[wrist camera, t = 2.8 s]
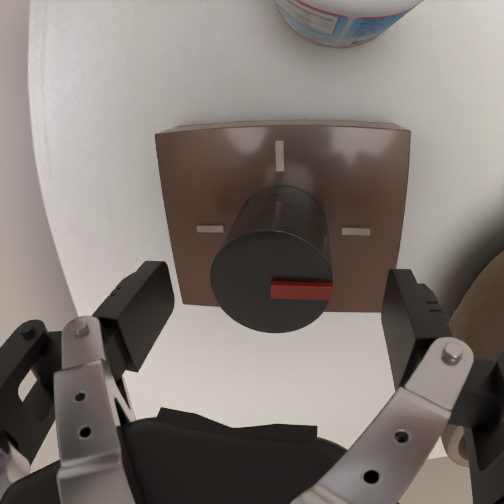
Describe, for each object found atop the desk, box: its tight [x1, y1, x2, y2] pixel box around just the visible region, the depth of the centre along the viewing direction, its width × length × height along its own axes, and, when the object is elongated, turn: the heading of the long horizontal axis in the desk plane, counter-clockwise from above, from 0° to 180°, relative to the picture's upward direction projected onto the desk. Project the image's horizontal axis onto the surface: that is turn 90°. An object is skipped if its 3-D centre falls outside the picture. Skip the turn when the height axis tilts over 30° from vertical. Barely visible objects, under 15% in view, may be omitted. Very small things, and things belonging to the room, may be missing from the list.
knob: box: [210, 186, 333, 333], centre depth 13 cm, size 4×4×5 cm
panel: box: [155, 120, 411, 312], centre depth 17 cm, size 12×10×3 cm
